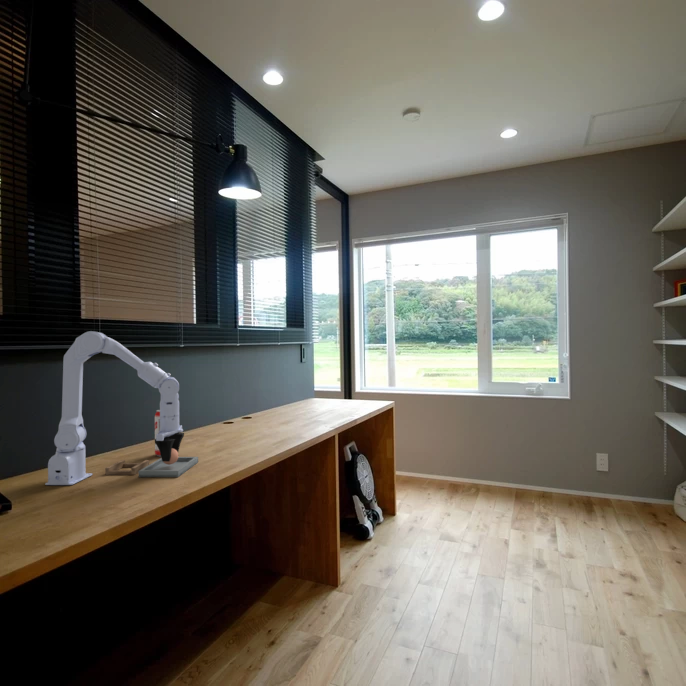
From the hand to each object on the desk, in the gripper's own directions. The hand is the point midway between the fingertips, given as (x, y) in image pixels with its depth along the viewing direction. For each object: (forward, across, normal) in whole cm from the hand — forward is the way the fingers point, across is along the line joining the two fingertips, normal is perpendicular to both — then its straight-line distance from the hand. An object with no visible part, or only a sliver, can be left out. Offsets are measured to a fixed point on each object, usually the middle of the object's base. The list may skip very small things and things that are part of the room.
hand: (170, 458), depth 134 cm
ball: (-1, 0, 0) cm, 1 cm away
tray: (+3, 0, 0) cm, 3 cm away
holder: (+3, -1, +13) cm, 13 cm away
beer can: (+3, +18, +10) cm, 21 cm away
